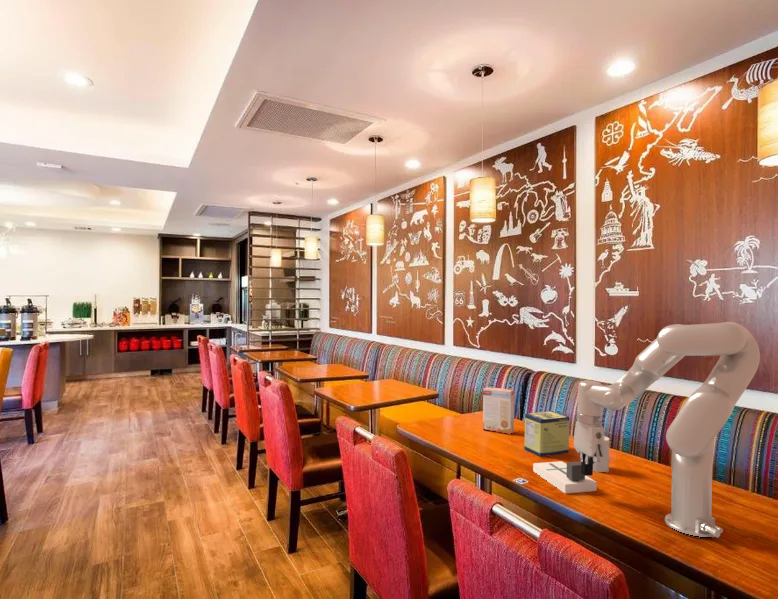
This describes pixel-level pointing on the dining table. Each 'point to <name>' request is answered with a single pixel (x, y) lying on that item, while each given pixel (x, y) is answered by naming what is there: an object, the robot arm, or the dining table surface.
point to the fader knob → (574, 471)
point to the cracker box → (498, 410)
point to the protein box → (546, 433)
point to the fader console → (563, 477)
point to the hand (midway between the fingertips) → (586, 474)
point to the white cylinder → (603, 459)
